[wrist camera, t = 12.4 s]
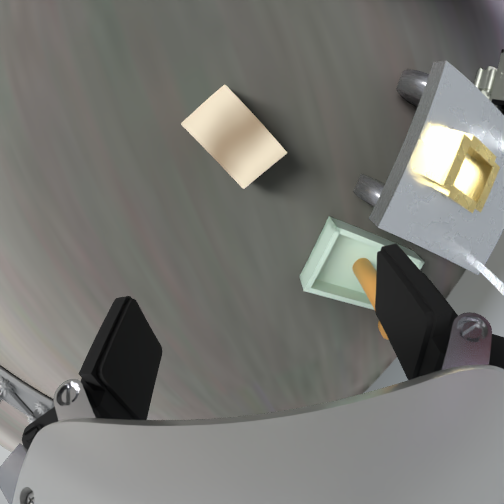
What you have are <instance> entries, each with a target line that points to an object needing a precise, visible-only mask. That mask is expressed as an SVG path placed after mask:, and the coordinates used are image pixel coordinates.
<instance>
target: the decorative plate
mask: <svg viewBox="0 0 504 504" xmlns="http://www.w3.org/2000/svg"><path fill="white" fill-rule="evenodd" d="M1 398H2V399H3V400H4V401H6V402H7V403H9V404H10V405H12V406H13V407H15V408H16V409H18V410H19V411H21V412H23V413H24V414H26V415H27V416H28V417H29V418H27V419H29V421H26V422H30V423H32V422H33V421H35V420H36V419H37V418H39V417H40V416H42V415H43V414H45V413H46V412H47V411H49V410H50V409H52V408H53V407H54V400H52V399H51V398H49V397H47V396H45V395H44V394H42V393H40V392H39V391H37V390H35V389H34V388H32V387H31V386H29V385H27V384H26V383H24V382H23V381H21V380H20V379H18V378H17V377H15V376H14V375H12V374H11V373H9V372H8V371H7V370H5V369H4V368H2V367H1V366H0V399H1ZM2 399H1V400H2ZM1 400H0V402H1ZM0 404H1V403H0ZM30 423H29V424H30Z"/></svg>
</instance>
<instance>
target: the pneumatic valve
mask: <svg viewBox="0 0 504 504" xmlns="http://www.w3.org/2000/svg"><path fill="white" fill-rule="evenodd" d="M474 85H475V86H476V87H477V88H478V89H479V90H480V91H481V92H482V93H483V94H484V95H485V96H486V97H487V98H488V99H489V100H490V101H491V102H492V103H493V104H494V105H495V106H496V107H497V108H498V110H499V111H500V112H501V113H502V114H503V115H504V49H502V52H501V56H500V61H499V65H498V69H496V68H494V67H492V66H488V67H487V69H486V70H483V69H482V68H480V69H478V72H477V75H476V78H475V82H474Z"/></svg>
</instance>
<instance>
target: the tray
mask: <svg viewBox="0 0 504 504" xmlns="http://www.w3.org/2000/svg"><path fill="white" fill-rule="evenodd" d="M391 244H397V243H394V242H392V241H390V240H387V239H385V238H383V237H380V236H378V235H375V234H373V233H371V232H368V231H366V230H363V229H361V228H358V227H356V226H353V225H351V224H348V223H346V222H343V221H341V220H338V219H335V218H333V217H330V216H329V217H328V219H327V221H326V223H325V226H324V228H323V230H322V232H321V234H320V236H319V238H318V240H317V242H316V244H315V246H314V248H313V250H312V252H311V254H310V256H309V258H308V260H307V262H306V264H305V266H304V268H303V270H302V272H301V274H300V276H299V277H300V280H301V283H302V287H303V290H304V291H306V292H310V293H313V294H317V295H321V296H324V297H328V298H332V299H335V300H339V301H343V302H347V303H350V304H354V305H358V306H362V307H365V308H369V309H373V310H374V308H373V306H372V304H371V302H370V301H369V299H368V297H367V295H366V293H365V292H364V290H363V288H362V286H361V284H360V283H359V281H358V279H357V277H356V276H355V274H354V272H353V270H352V267H353V264H354V263H355V262H356V261H357V260H358V259H360V258H366V259H368V260H369V261H370V263H371V264H372V265H373V267H374V268H375V270H376V271H377V252H378V251H381V247H382V246H387V245H391ZM397 245H398V246H399V247H400V248H401V249H402V250H403V251H404V252H405V254H406V255H407V256H408V257H409V258H410V259H411V260H412V262H413V263H414V264H415V265H416V266H417V267H418V269H419V270H420V269H421V268H422V266H423V264H424V263H425V262H424V261H423V260H422V259H421V258H420V257H419V256H418V255H417V254H416V253H415V252H414V251H413V250H410V249H408V248H406V247H404V246H401V245H399V244H397Z"/></svg>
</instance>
